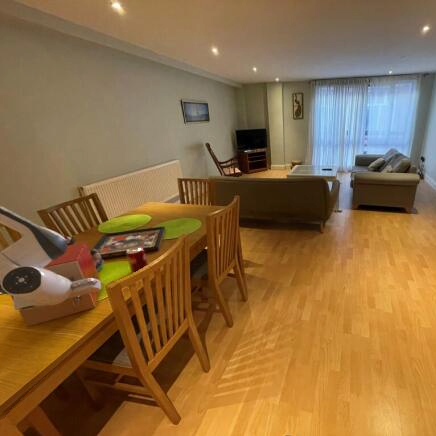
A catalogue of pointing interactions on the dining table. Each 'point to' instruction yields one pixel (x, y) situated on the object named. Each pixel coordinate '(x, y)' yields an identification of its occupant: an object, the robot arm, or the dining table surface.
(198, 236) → the dining table surface
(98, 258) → the bison figurine
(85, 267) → the cabinet
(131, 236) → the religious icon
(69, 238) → the sundae
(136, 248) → the soda can
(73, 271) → the hinged door with handle
